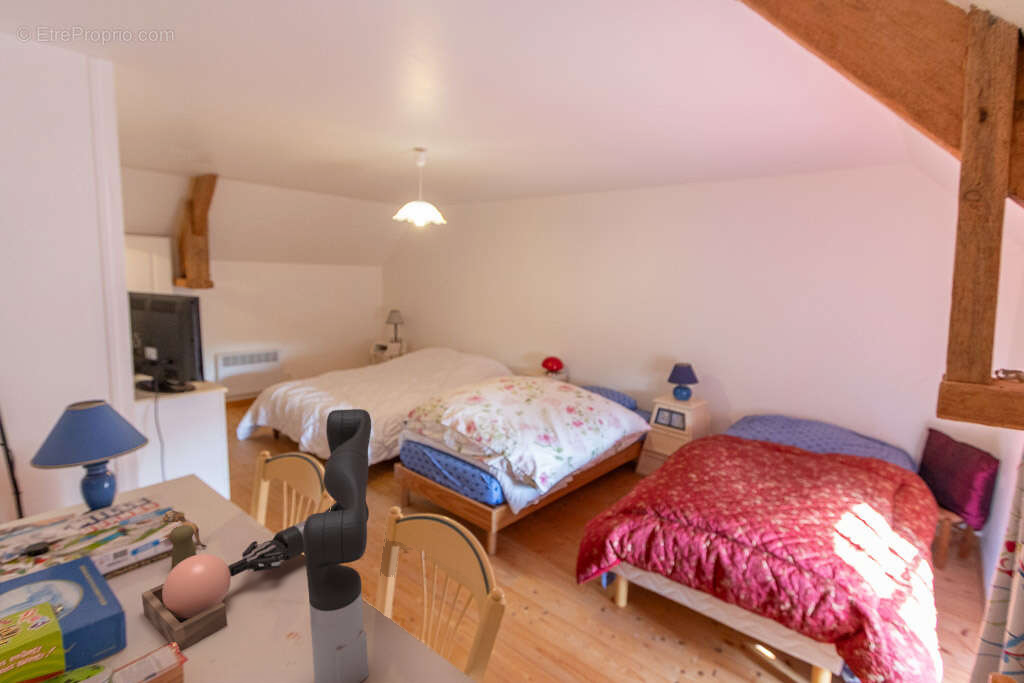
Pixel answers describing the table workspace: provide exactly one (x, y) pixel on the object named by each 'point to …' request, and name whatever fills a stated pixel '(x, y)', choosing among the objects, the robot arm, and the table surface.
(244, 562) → the robot arm
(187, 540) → the cork
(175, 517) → the lion figurine
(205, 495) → the table surface
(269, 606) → the table surface
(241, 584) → the table surface
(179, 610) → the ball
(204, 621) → the stall
